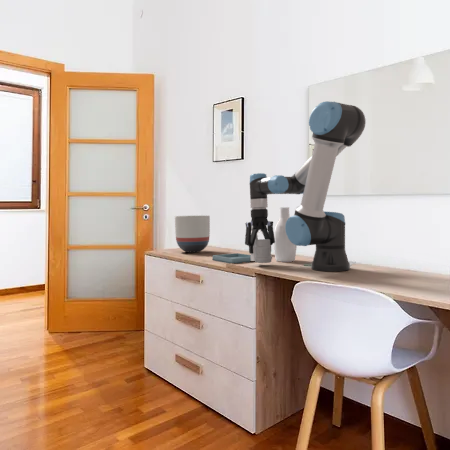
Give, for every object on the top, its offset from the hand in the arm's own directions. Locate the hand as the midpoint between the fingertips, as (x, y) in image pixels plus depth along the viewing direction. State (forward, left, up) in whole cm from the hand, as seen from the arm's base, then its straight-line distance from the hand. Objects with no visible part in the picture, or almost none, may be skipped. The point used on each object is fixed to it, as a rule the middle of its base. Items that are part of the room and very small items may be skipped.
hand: (260, 260), depth 188 cm
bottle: (+5, -18, -2) cm, 19 cm away
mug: (0, 0, -1) cm, 1 cm away
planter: (+71, -3, -2) cm, 71 cm away
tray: (+21, 0, -2) cm, 21 cm away
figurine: (+36, -23, -2) cm, 42 cm away
